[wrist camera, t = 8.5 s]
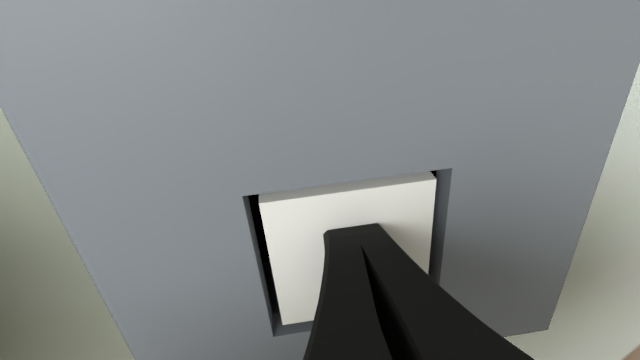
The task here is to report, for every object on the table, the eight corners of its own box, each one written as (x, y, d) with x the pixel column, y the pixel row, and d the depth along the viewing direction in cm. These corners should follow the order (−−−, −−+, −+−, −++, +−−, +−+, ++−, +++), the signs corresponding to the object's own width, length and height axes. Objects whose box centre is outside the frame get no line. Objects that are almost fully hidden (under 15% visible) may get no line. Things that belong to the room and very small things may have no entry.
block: (278, 242, 13) (282, 325, 10) (260, 138, 11) (258, 203, 8) (390, 226, 14) (425, 302, 11) (391, 122, 12) (436, 179, 9)
